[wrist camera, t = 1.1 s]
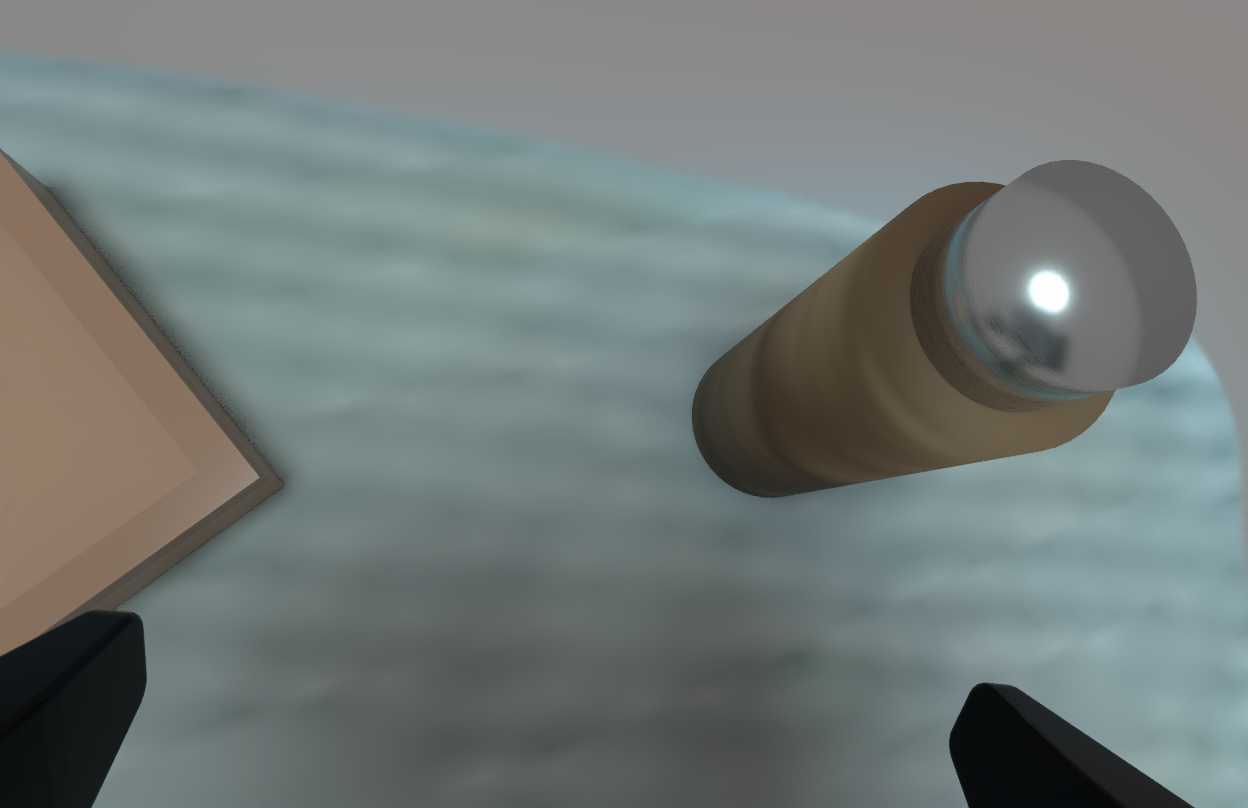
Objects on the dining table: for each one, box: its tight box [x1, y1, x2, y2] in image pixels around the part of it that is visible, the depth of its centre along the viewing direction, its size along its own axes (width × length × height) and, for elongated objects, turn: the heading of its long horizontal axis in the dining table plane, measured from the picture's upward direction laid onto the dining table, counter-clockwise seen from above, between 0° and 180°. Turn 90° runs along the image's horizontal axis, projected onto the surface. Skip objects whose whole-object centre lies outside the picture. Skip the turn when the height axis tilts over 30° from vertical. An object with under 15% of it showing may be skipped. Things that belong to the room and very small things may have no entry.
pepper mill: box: [692, 160, 1197, 498], centre depth 17 cm, size 5×5×13 cm
